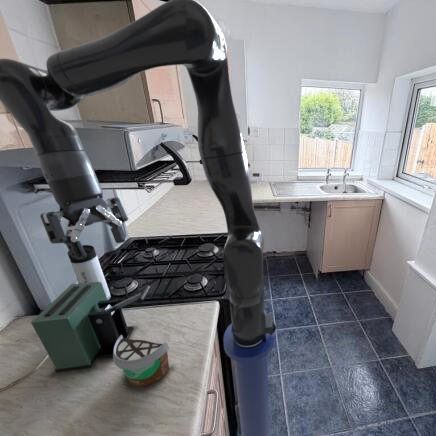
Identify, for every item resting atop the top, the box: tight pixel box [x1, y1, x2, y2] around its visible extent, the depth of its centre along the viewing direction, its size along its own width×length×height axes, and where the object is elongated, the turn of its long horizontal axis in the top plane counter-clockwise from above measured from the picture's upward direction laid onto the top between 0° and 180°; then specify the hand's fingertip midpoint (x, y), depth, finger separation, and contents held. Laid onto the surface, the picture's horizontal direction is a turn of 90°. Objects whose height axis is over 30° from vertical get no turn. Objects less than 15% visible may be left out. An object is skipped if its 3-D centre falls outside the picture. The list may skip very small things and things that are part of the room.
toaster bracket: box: [88, 298, 135, 360], centre depth 61 cm, size 5×9×13 cm, turn 10°
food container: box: [112, 335, 170, 389], centre depth 53 cm, size 12×6×10 cm, turn 82°
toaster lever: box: [97, 285, 151, 315], centre depth 60 cm, size 13×5×2 cm, turn 99°
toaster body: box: [30, 282, 107, 373], centre depth 60 cm, size 7×13×16 cm, turn 10°
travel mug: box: [67, 244, 112, 300], centre depth 75 cm, size 6×7×20 cm
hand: (103, 249), depth 51 cm, fingers open, 8 cm apart
